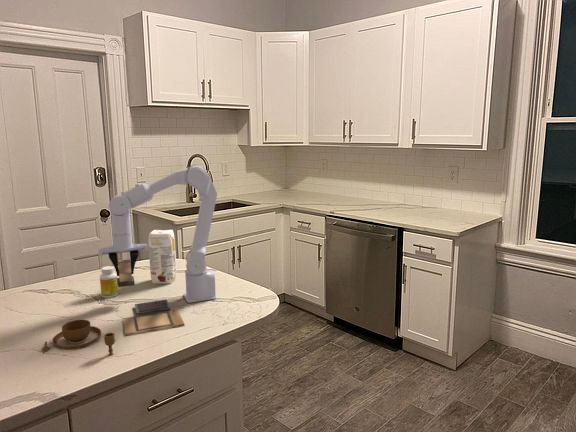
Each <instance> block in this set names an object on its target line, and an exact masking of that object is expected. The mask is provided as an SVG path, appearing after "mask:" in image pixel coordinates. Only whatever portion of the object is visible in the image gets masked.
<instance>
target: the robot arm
mask: <svg viewBox="0 0 576 432" xmlns="http://www.w3.org/2000/svg"><path fill="white" fill-rule="evenodd" d="M187 183H188V184H189V186H191V187H192V188H194V189H196V191H197V192H198V193H199V195H200V196H201V200H200V204H199V205H200V206H199V210H198V214H197V215H198V216H197V221H196V225H195V229H194V234H193V239H192V243H191V246H190V249H189V251H188V252H187V254H186V257H185V261H186V265H185V267H186V270H185V271H184V272H185V273H184V274H185V293H183V296H184V298H185V300H186V302H187V303H189V304H191V303H196V302H203V301H204V302H205V301H209V300H215V299H217V296H216V278H215V272H214V270H212V269H209V270H208V269H207V263H206V253H207V246H208V240H209V235H210V230H211V226H212V222H213V216H214V213H215V207H216V202H217V197H218V191H217V190H216V187H215V185H214V183H213V181H212V178H211V175H210V174H209V173H208V172H207V170H205V168H204V166H201V164H200V165H199V164H193V165H190V166H189V167H184V168H182V169H181V168H180V169H178V170H176V171H174V172H172V173H170V174H168V175H166V176H164V177H162V178H160V179H158V180H157V181H155V182H153V183H151V184H147V183H141V184H140V183H139V182H138V183H136V184H134V187H133V188H131V189H128V190H126V191H125V190H122V191H121V192H120V194H117V195H115V196H113V197H112V198H111V200H109V203H108V209H109V212H110V213H111V214H110V216H111V220H110V223H111V233H112V244H113V245H111V246H104V247H100V248H98V251H97V253H98V256H103V255H104V256H105V255H108V258H109V260H110V262H111V263H112V265H113V267H114V271H115V273H116V274H117V277H119V268H118V261H119V260H118V254H123V253H125V254H126V253H129V258H130V262H131V274H132V275H134V272H135V265H136V263H137V260H138V257H139V255H140V252H142V251H144V252H145V251H147V252H149V248H148V244H147V243H133V233H132V232H133V231H132V219H131V214H130V209H135V208H137V207H139V206H141V205H144V204H145V203H148V202H150V201H153V197H154V194H157V193H159V192H162V191H164V190H166V189H168V188H171V187H173V186H176V185H182V186H187Z"/></svg>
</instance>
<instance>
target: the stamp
mask: <svg viewBox="0 0 576 432" xmlns="http://www.w3.org/2000/svg"><path fill="white" fill-rule="evenodd" d="M118 269H119V276H118V277H117V284H118V288H123V287H124V288H125V287H132V286H135V285H136V284H135V283H136V282H135V278H134V276H133V274H131V261H130V259H129V258H127V259H120V260H118Z"/></svg>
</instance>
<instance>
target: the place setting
mask: <svg viewBox="0 0 576 432" xmlns="http://www.w3.org/2000/svg"><path fill="white" fill-rule="evenodd" d="M91 332H93V333H95V334H96V335H97V336H96V337H94V338H93V339H91V340H89V341H87V342H84V343H81V342H83V341H85V340H86V339H87V337H89V336H90V334H91ZM101 335H102V330H101V329H100V328H99V327H97V326H92V324H91V322H90V321H89V320H87V319H75V320H72V321H70V320H69V321H68V322H66V323H64V324H63V325H62V326H61V331H60V332H59V333H57V334H56V335H54V337H53V338H52V341H51V342H52V344H53V346H54V347H55V348H57V349H59V350H63V351H65V350H66V351H73V350H78V349H83V348H87V347H88V346H91V345H94V344H95V343H96V342H98V341H99V340H100V338H101ZM62 338H63V339H64V340H66V341H67V342H69V343H72V344H75V345H61V344H58V342H59V341H60V339H62ZM103 340H104V344H105V345H106V346H108V353H109V354H108V356H109V357H110V356H113V355H114V353H113V351H114V350H113V345H115V342H116V335H115V333H114V332H107V333H105V334H104V335H103ZM76 343H79V344H76ZM50 348H51V347H50V346H48V341H44V346H43V347H42V348H41V351H42V352H48V351H49V350H50Z"/></svg>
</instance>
